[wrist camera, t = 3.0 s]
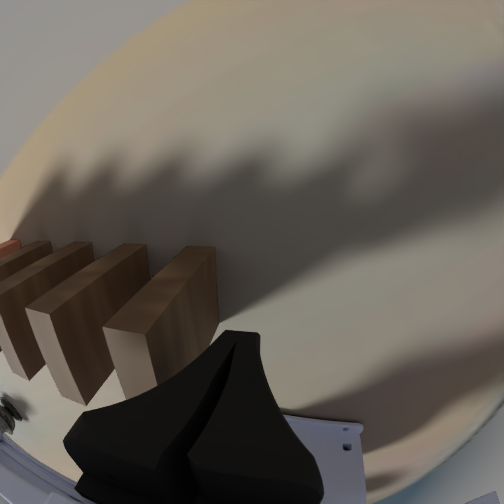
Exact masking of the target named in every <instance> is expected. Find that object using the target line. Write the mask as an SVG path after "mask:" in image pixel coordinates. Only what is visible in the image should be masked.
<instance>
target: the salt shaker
mask: <svg viewBox="0 0 504 504" xmlns="http://www.w3.org/2000/svg"><path fill="white" fill-rule="evenodd" d="M0 400H1V404H2V406H1V405H0V431H1V432H2V433H4V432H8V433H9V434H11V435H12V434H13V430H14V428H15V421H14V419H15V420H18V421H22V418H21V416H20V414H19V413H18V412H17V410H16V409H15V408H14V407H13V406H12V405H11V404H10V403H9V402H8V401H7V400H6V399H5V398H3V397H0ZM13 418H14V419H13Z"/></svg>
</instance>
